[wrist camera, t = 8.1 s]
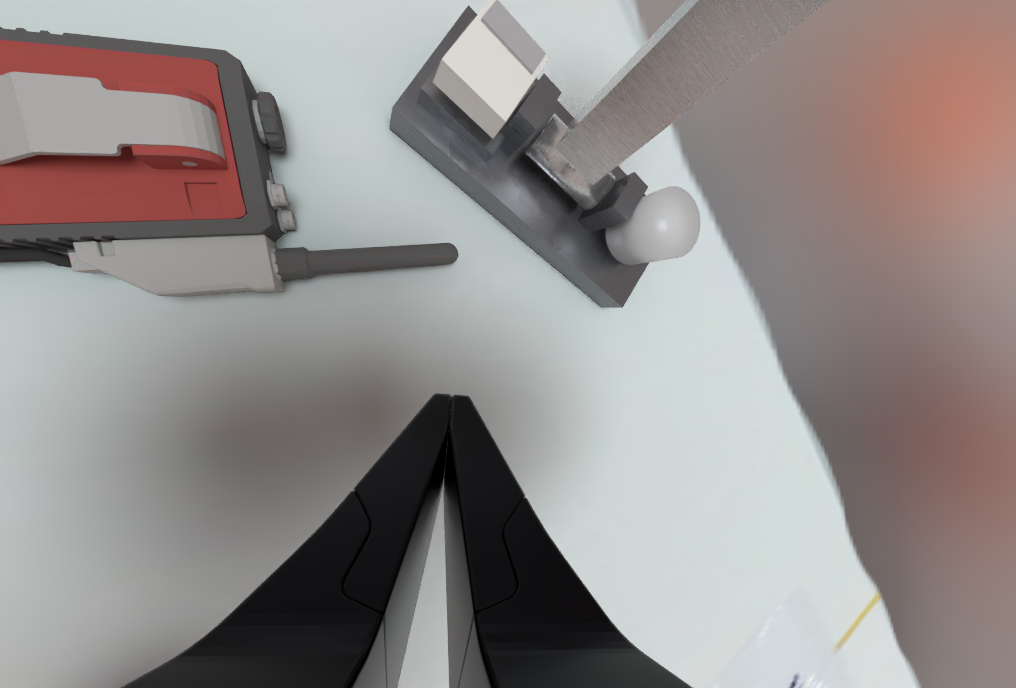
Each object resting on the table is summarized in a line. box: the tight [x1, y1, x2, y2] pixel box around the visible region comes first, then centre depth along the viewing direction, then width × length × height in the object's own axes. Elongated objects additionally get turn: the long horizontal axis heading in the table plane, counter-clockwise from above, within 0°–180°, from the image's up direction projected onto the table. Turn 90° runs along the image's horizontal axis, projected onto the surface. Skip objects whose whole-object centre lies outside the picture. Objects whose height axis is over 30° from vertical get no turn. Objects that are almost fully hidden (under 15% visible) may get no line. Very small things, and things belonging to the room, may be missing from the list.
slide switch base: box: [389, 5, 649, 307], centre depth 18 cm, size 6×15×5 cm, turn 55°
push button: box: [605, 186, 700, 265], centre depth 18 cm, size 3×3×3 cm
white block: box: [433, 0, 550, 138], centre depth 15 cm, size 4×3×1 cm
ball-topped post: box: [525, 0, 828, 210], centre depth 13 cm, size 3×4×13 cm
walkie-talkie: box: [0, 27, 458, 296], centre depth 14 cm, size 9×4×20 cm
